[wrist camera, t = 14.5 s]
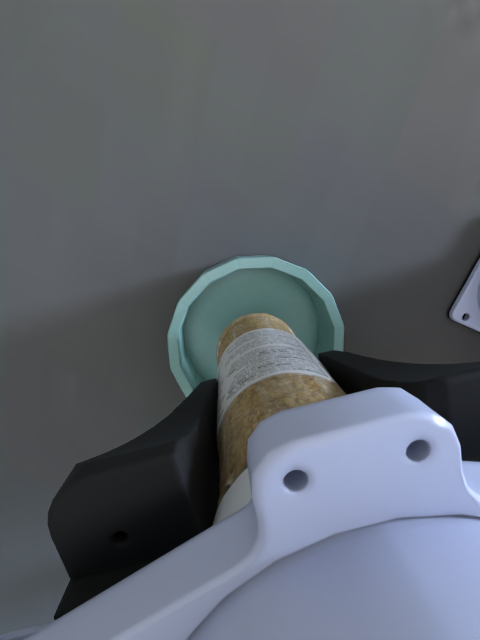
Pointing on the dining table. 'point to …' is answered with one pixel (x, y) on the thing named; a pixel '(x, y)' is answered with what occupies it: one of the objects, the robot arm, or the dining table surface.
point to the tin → (248, 312)
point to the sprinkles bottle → (259, 393)
